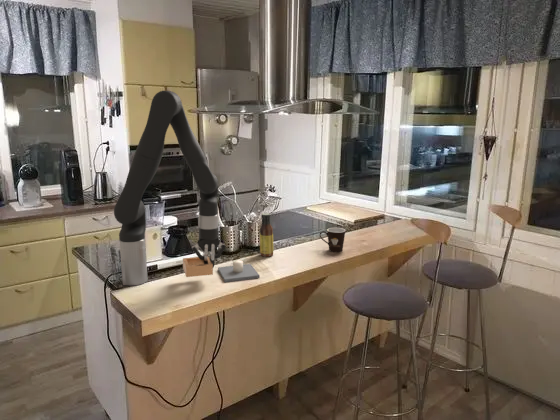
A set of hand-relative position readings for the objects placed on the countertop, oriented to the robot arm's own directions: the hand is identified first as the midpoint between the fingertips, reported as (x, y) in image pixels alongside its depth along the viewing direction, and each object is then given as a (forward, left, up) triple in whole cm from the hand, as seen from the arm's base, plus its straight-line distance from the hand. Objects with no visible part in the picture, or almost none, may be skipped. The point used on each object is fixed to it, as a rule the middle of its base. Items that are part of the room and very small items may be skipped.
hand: (208, 268), depth 169 cm
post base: (+13, +4, -5) cm, 14 cm away
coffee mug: (+64, +21, -5) cm, 67 cm away
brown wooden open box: (-4, 0, 0) cm, 4 cm away
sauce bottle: (+31, +23, -5) cm, 39 cm away
